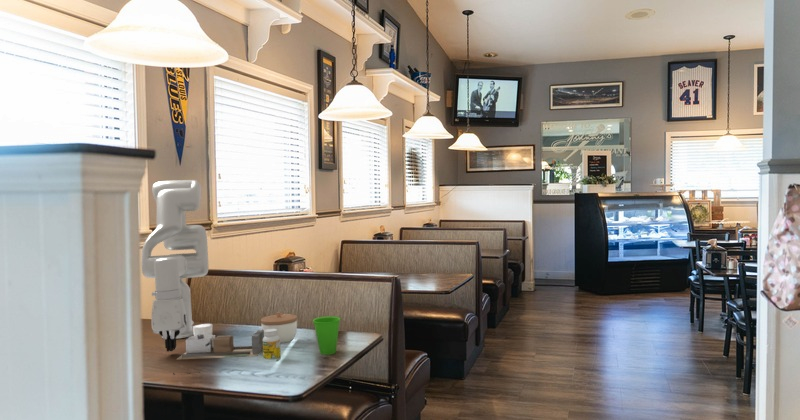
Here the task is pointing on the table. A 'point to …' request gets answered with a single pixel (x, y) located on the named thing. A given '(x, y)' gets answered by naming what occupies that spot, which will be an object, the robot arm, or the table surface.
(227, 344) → the walnut block
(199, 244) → the robot arm
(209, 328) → the shot glass
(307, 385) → the table surface
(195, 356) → the gauge bed
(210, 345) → the knobbed grey slider
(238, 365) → the table surface
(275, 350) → the supplement bottle
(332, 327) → the cup
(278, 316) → the lidded bowl
